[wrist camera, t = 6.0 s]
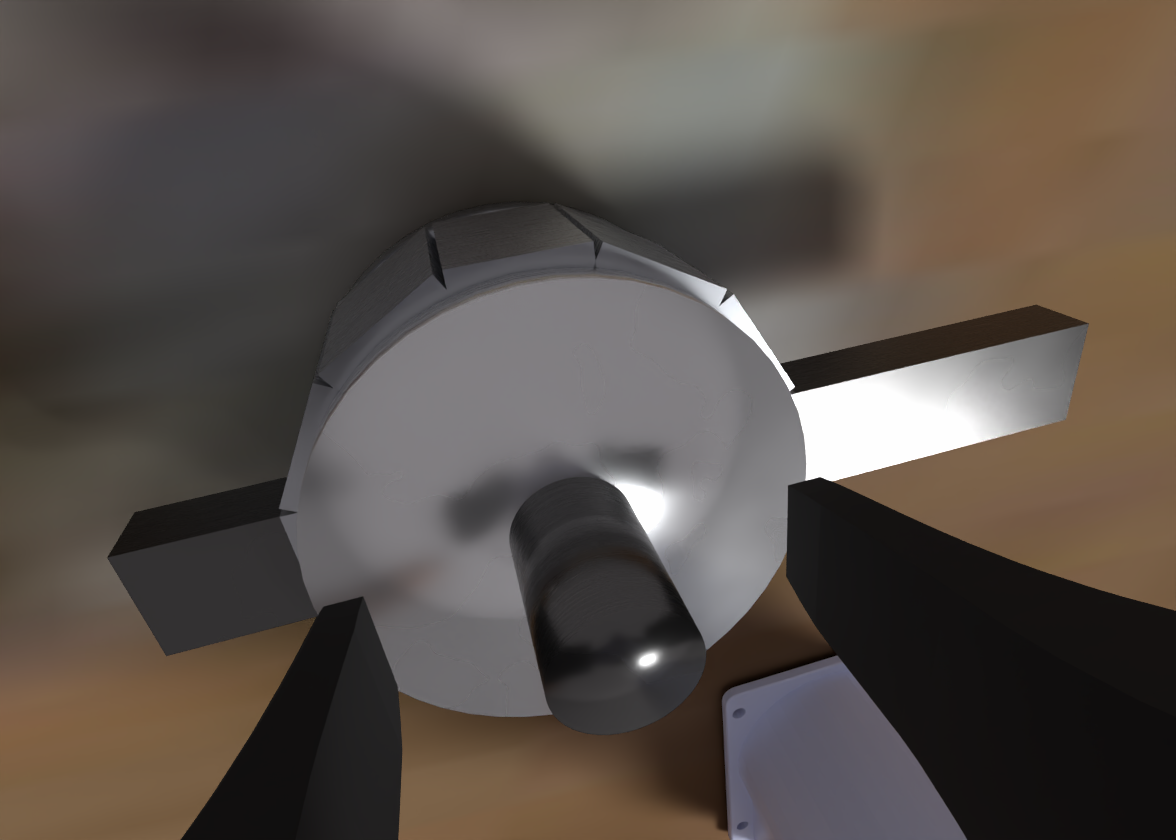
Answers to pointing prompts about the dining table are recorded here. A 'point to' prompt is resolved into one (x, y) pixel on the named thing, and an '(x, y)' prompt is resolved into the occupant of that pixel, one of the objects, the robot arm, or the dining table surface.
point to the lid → (554, 495)
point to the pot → (579, 239)
